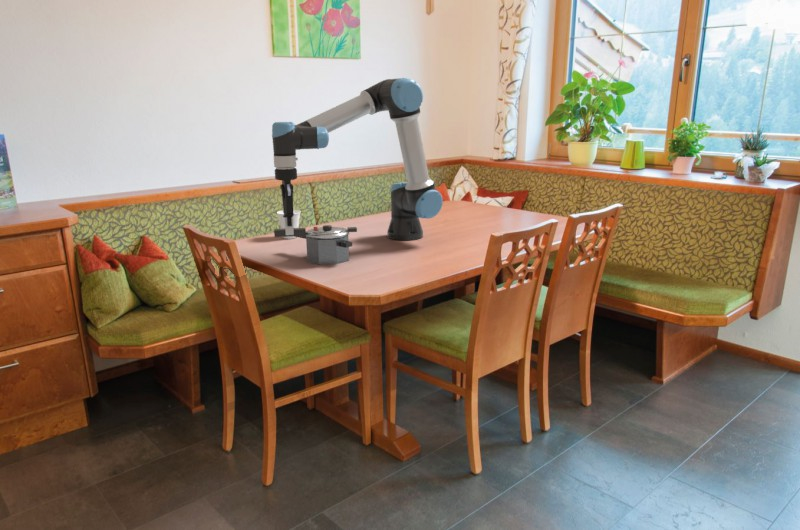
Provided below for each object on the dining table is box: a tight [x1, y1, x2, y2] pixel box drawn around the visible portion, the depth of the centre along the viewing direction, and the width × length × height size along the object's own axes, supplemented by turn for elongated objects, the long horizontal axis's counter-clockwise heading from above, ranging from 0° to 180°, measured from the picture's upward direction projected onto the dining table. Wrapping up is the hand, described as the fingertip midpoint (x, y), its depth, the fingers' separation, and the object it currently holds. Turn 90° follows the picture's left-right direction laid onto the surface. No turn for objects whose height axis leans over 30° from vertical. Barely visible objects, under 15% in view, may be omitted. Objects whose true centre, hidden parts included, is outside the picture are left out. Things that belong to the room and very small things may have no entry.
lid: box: [273, 224, 358, 239], centre depth 218 cm, size 29×16×3 cm, turn 100°
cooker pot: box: [295, 235, 353, 266], centre depth 223 cm, size 29×15×9 cm, turn 50°
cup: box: [276, 209, 302, 240], centre depth 255 cm, size 10×10×11 cm
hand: (289, 234), depth 215 cm, fingers closed
